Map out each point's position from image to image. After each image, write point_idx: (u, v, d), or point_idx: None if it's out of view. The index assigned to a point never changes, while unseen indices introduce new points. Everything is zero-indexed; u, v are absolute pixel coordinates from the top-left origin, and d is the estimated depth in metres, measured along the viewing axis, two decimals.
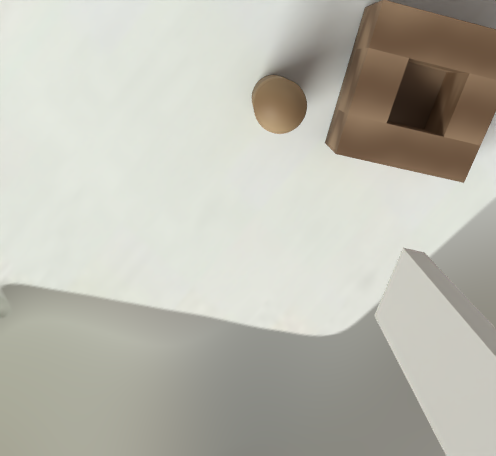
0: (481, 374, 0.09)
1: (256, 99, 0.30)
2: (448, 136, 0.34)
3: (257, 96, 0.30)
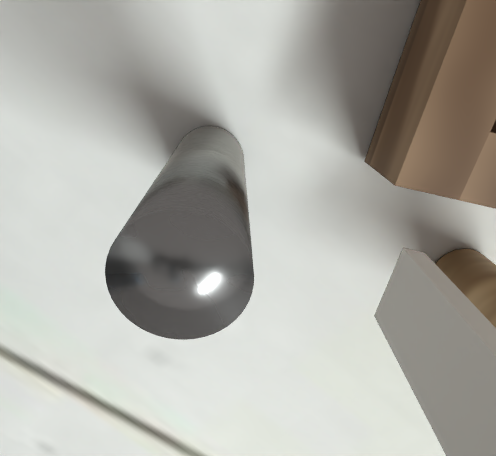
0: (481, 374, 0.09)
1: None
2: None
3: None
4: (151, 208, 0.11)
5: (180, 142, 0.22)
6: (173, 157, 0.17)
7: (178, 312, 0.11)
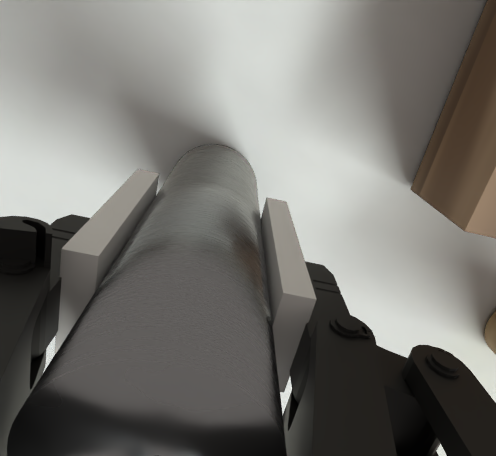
0: (272, 282, 0.10)
1: None
2: None
3: None
4: (93, 344, 0.06)
5: (175, 167, 0.17)
6: (160, 198, 0.12)
7: None
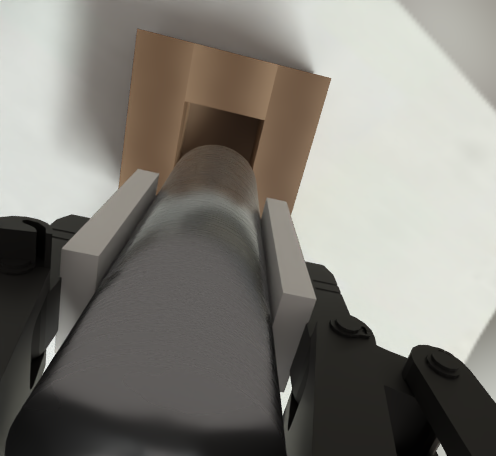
0: (272, 282, 0.10)
1: None
2: (264, 114, 0.26)
3: None
4: (92, 347, 0.05)
5: (174, 167, 0.17)
6: (159, 198, 0.12)
7: None
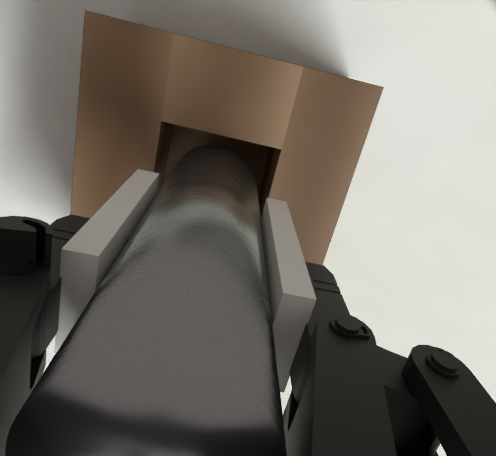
0: (272, 282, 0.10)
1: None
2: (281, 140, 0.17)
3: None
4: (93, 346, 0.06)
5: (174, 167, 0.17)
6: (159, 198, 0.12)
7: None
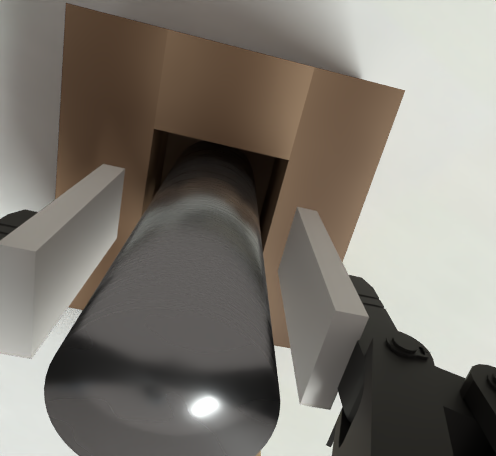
0: (316, 296, 0.10)
1: None
2: (288, 150, 0.15)
3: None
4: (118, 298, 0.07)
5: (177, 160, 0.18)
6: (165, 186, 0.13)
7: (162, 451, 0.07)
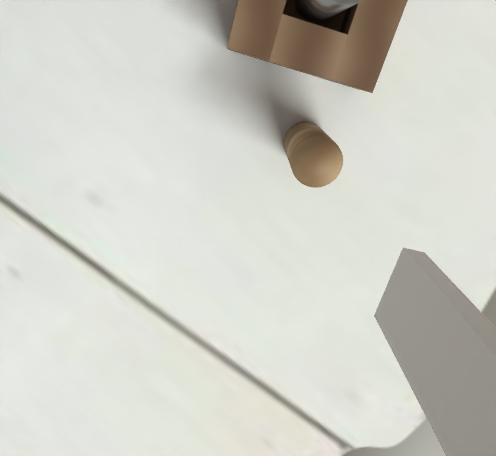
0: (481, 374, 0.09)
1: (307, 184, 0.32)
2: None
3: (304, 183, 0.32)
4: None
5: None
6: None
7: None
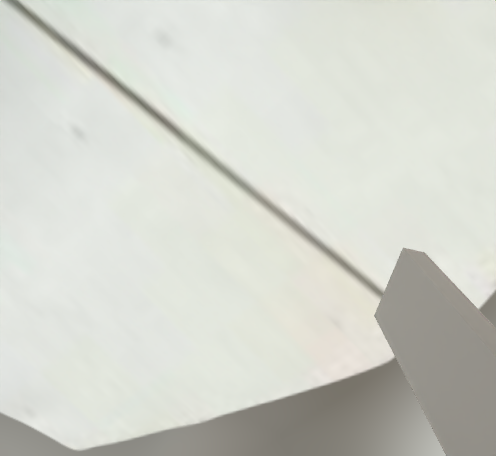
0: (481, 374, 0.09)
1: None
2: None
3: None
4: None
5: None
6: None
7: None
